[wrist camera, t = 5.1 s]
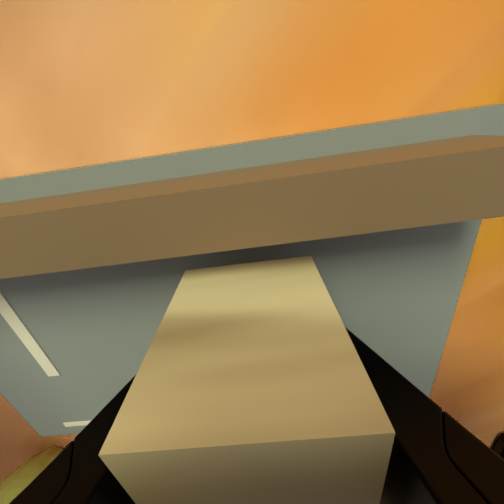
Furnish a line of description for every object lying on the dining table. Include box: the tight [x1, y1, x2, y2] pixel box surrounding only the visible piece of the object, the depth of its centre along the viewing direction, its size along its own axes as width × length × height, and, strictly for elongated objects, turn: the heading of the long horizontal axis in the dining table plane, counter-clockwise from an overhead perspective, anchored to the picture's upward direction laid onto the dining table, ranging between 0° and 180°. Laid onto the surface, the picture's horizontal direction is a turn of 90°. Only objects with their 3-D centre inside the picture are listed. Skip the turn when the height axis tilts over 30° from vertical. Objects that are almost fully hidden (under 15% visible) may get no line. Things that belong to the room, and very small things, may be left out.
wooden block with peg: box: [98, 256, 395, 504], centre depth 8 cm, size 10×4×5 cm, turn 8°
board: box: [0, 104, 504, 437], centre depth 10 cm, size 14×22×3 cm, turn 98°
